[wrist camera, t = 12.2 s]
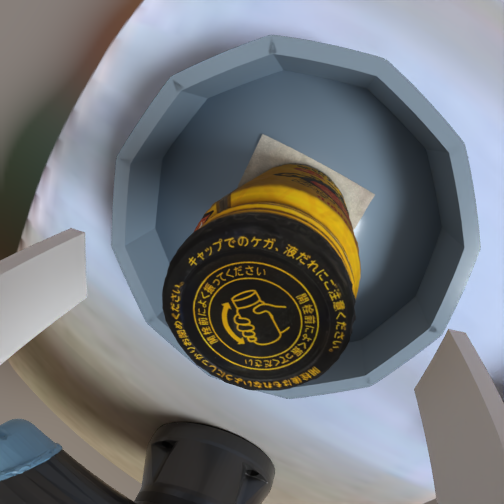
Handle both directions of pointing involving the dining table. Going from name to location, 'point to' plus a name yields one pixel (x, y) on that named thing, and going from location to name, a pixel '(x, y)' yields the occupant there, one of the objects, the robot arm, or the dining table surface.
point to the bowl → (325, 152)
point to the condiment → (270, 274)
